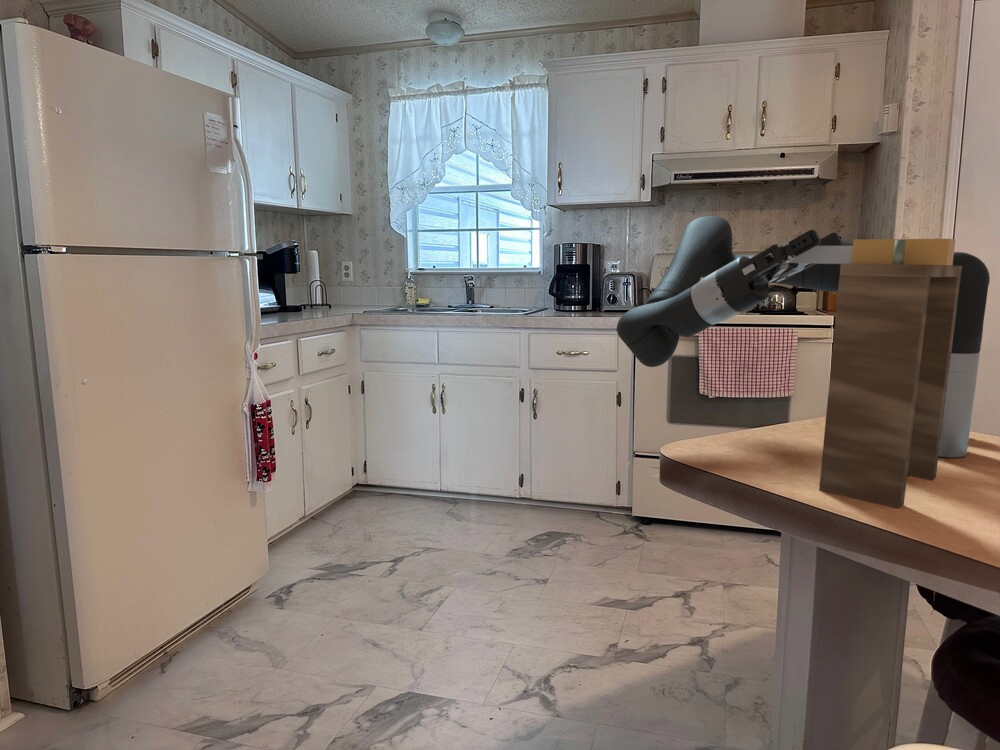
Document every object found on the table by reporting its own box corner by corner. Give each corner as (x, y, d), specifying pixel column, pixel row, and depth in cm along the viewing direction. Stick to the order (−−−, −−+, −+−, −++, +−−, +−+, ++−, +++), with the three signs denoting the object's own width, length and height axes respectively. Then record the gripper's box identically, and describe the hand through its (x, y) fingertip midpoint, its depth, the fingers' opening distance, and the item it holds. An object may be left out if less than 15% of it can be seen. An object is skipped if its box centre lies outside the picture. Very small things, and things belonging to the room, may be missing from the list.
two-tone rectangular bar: (789, 263, 101) (791, 240, 101) (952, 265, 87) (955, 239, 87) (780, 262, 99) (782, 240, 99) (946, 265, 85) (949, 238, 85)
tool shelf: (863, 463, 109) (886, 244, 104) (935, 477, 103) (964, 244, 97) (819, 490, 96) (842, 240, 90) (899, 508, 89) (930, 239, 84)
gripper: (758, 311, 111) (857, 261, 100) (717, 315, 101) (822, 260, 90) (739, 270, 112) (834, 216, 102) (696, 269, 102) (797, 209, 91)
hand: (828, 236), depth 96 cm, fingers open, 8 cm apart
